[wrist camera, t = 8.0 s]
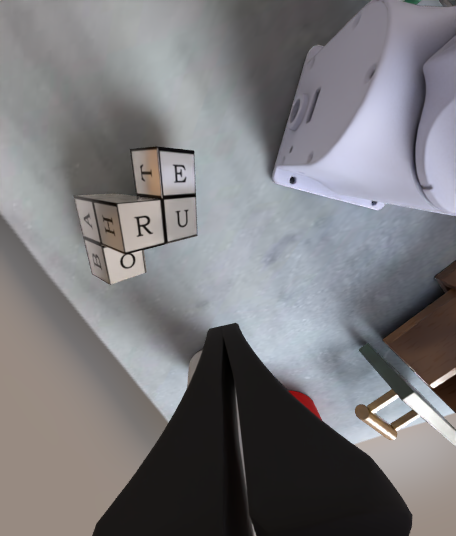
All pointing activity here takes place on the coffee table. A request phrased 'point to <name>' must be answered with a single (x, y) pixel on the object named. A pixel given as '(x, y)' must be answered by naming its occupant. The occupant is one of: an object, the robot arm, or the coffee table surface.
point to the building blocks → (140, 213)
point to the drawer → (418, 368)
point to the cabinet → (447, 278)
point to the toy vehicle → (445, 3)
